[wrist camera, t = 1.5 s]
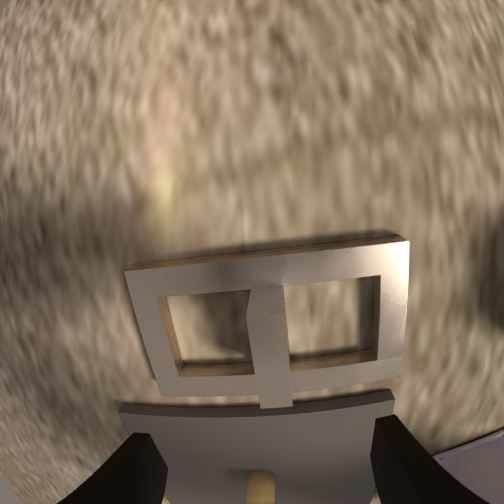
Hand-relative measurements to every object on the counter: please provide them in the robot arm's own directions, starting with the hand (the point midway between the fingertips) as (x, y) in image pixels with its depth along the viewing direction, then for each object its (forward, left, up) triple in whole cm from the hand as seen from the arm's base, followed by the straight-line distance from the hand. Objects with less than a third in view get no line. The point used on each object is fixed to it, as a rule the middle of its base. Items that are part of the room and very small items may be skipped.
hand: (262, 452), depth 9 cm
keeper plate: (+2, +13, -9) cm, 16 cm away
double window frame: (0, 0, -9) cm, 9 cm away
